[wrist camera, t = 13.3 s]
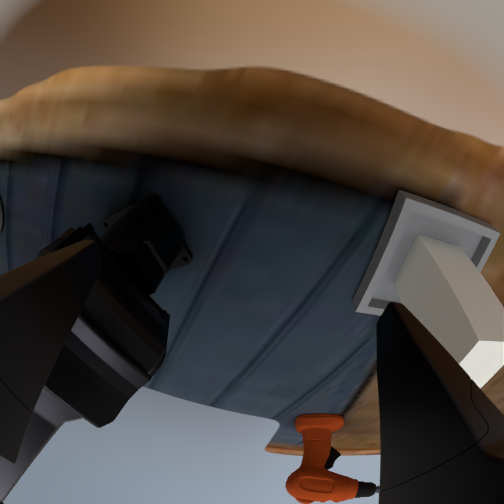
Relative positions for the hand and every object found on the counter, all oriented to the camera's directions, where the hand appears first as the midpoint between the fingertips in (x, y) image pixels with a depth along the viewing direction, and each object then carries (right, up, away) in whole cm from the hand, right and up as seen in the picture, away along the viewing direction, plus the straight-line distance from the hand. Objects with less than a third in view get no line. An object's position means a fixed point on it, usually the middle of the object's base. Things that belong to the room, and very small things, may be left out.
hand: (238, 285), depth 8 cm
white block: (+15, 0, +13) cm, 20 cm away
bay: (+15, 0, +13) cm, 20 cm away
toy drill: (+15, -25, +30) cm, 42 cm away
